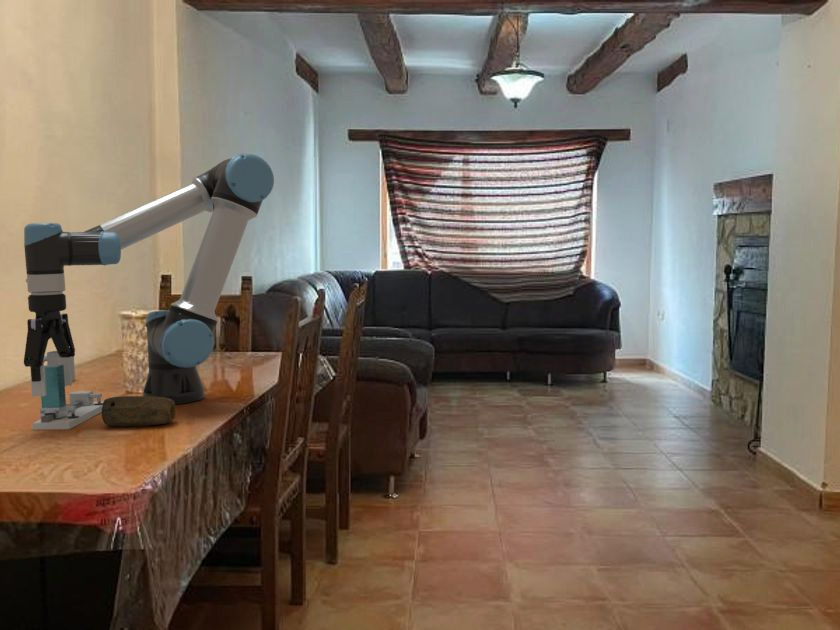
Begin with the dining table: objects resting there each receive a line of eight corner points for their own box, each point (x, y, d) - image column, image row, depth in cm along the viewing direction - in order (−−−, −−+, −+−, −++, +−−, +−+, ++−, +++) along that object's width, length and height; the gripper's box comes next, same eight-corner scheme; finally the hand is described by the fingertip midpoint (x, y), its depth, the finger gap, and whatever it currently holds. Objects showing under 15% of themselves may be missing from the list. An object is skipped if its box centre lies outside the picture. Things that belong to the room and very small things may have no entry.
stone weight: (100, 431, 166) (98, 400, 166) (107, 424, 173) (106, 394, 173) (172, 427, 169) (171, 397, 168) (177, 420, 176) (175, 391, 175)
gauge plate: (109, 407, 190) (108, 389, 190) (69, 429, 168) (68, 408, 168) (77, 408, 190) (76, 390, 190) (32, 429, 168) (31, 409, 168)
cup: (72, 383, 226) (70, 352, 225) (35, 385, 223) (33, 354, 222) (77, 378, 233) (75, 349, 232) (41, 380, 230) (39, 351, 229)
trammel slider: (79, 414, 175) (76, 364, 174) (71, 418, 171) (68, 367, 170) (49, 414, 175) (45, 364, 174) (40, 418, 171) (37, 367, 170)
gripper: (55, 290, 182) (61, 381, 184) (0, 297, 158) (7, 401, 160) (87, 289, 182) (92, 380, 184) (36, 296, 158) (43, 401, 160)
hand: (52, 390), depth 172 cm, fingers open, 11 cm apart
